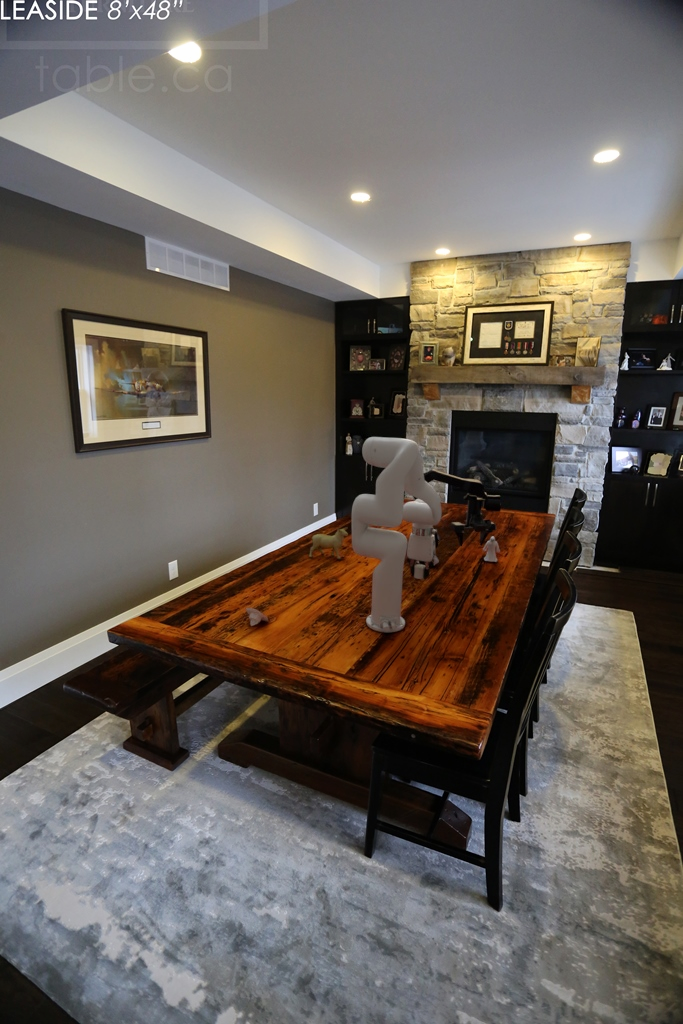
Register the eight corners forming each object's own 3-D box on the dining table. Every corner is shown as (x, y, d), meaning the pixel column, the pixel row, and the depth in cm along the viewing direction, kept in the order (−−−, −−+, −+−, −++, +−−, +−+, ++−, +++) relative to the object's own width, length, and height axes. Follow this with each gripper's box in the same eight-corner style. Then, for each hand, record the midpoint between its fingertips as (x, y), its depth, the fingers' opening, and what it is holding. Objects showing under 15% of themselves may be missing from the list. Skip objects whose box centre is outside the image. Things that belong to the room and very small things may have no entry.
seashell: (251, 634, 162) (235, 615, 161) (262, 623, 165) (246, 604, 164) (262, 630, 156) (245, 610, 155) (273, 618, 159) (257, 599, 158)
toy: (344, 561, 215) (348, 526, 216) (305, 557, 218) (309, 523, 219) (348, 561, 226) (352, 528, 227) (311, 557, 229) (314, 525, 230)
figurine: (481, 562, 222) (483, 536, 219) (482, 556, 230) (484, 531, 227) (499, 564, 220) (501, 538, 217) (499, 558, 228) (501, 533, 225)
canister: (427, 576, 194) (427, 565, 193) (421, 580, 190) (422, 568, 189) (417, 574, 196) (417, 563, 195) (411, 577, 193) (412, 566, 192)
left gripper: (446, 531, 188) (443, 577, 193) (404, 525, 196) (402, 569, 200) (441, 537, 182) (437, 583, 186) (397, 530, 189) (395, 575, 194)
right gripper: (461, 515, 200) (458, 552, 204) (504, 514, 204) (500, 550, 207) (450, 509, 210) (447, 544, 214) (491, 508, 214) (487, 542, 218)
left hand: (419, 576), depth 193 cm, fingers closed on canister, 4 cm apart
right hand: (471, 545), depth 213 cm, fingers open, 9 cm apart
